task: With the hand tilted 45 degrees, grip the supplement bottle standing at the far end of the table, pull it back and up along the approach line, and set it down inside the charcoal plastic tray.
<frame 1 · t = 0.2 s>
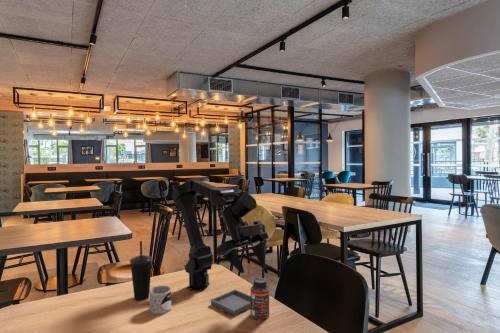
hand: (253, 269, 99), 15 cm above the table, tool tilted 35°, fingers open, 9 cm apart
tray: (234, 304, 106), on the table
supplement bottle: (260, 316, 99), on the table
drinking cup: (141, 298, 111), on the table
mug: (163, 308, 104), on the table
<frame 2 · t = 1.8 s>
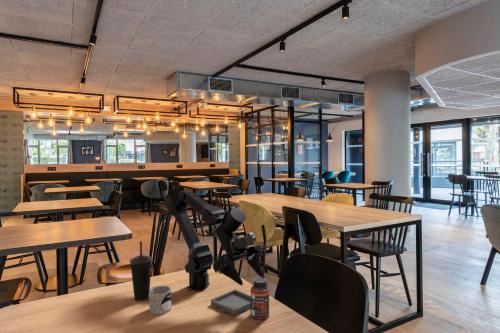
hand: (252, 280, 101), 10 cm above the table, tool tilted 45°, fingers open, 9 cm apart
nothing on the table moved.
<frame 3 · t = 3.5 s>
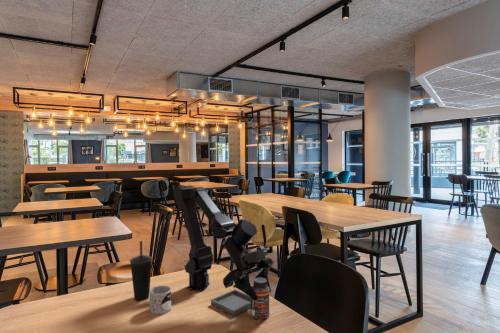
hand: (263, 296, 98), 7 cm above the table, tool tilted 45°, fingers closed on supplement bottle, 6 cm apart
supplement bottle: (260, 316, 99), on the table, touching gripper
everything else where it was.
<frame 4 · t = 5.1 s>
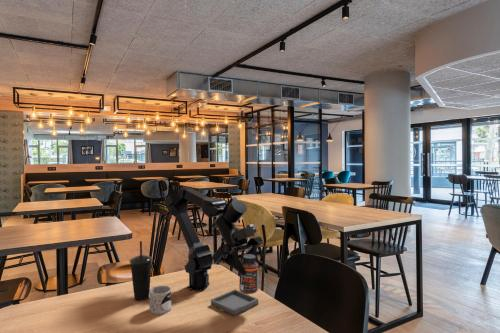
hand: (252, 271, 101), 13 cm above the table, tool tilted 45°, fingers closed on supplement bottle, 6 cm apart
supplement bottle: (248, 291, 102), point 6 cm above the table, touching gripper
everything else where it was.
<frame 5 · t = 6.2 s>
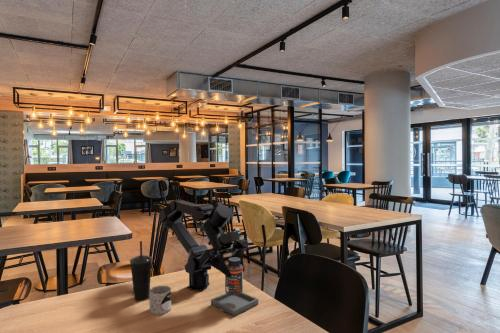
hand: (237, 274, 105), 11 cm above the table, tool tilted 45°, fingers closed on supplement bottle, 6 cm apart
supplement bottle: (234, 292, 106), point 4 cm above the table, touching gripper
everything else where it was.
when the fingers open (8 cm above the table, at t = 7.2 s): supplement bottle stays where it is, resting on tray.
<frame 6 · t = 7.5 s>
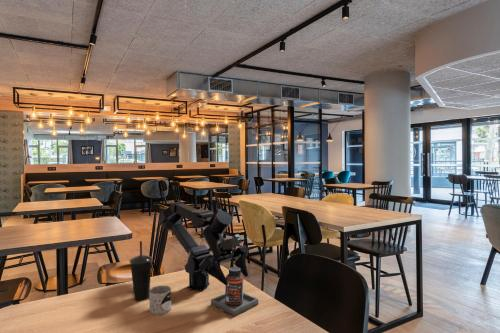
hand: (237, 280, 105), 9 cm above the table, tool tilted 45°, fingers open, 9 cm apart
supplement bottle: (234, 303, 106), resting on tray
everything else where it was.
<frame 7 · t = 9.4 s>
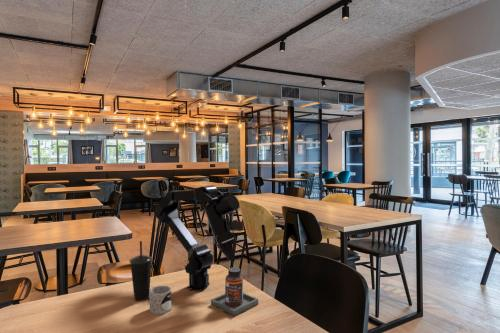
hand: (231, 260, 112), 13 cm above the table, tool tilted 25°, fingers open, 9 cm apart
nothing on the table moved.
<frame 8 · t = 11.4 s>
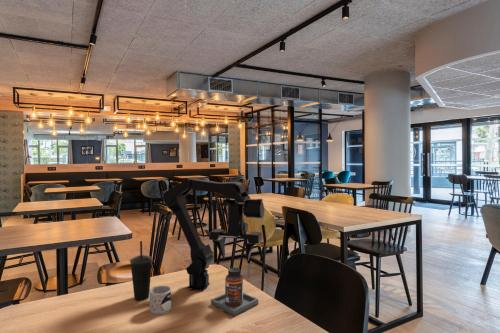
hand: (235, 259, 116), 12 cm above the table, tool pointing down, fingers open, 9 cm apart
nothing on the table moved.
at the end: supplement bottle 0.2 cm from the tray (horizontally); supplement bottle tilted 0°; the gripper is holding nothing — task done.
